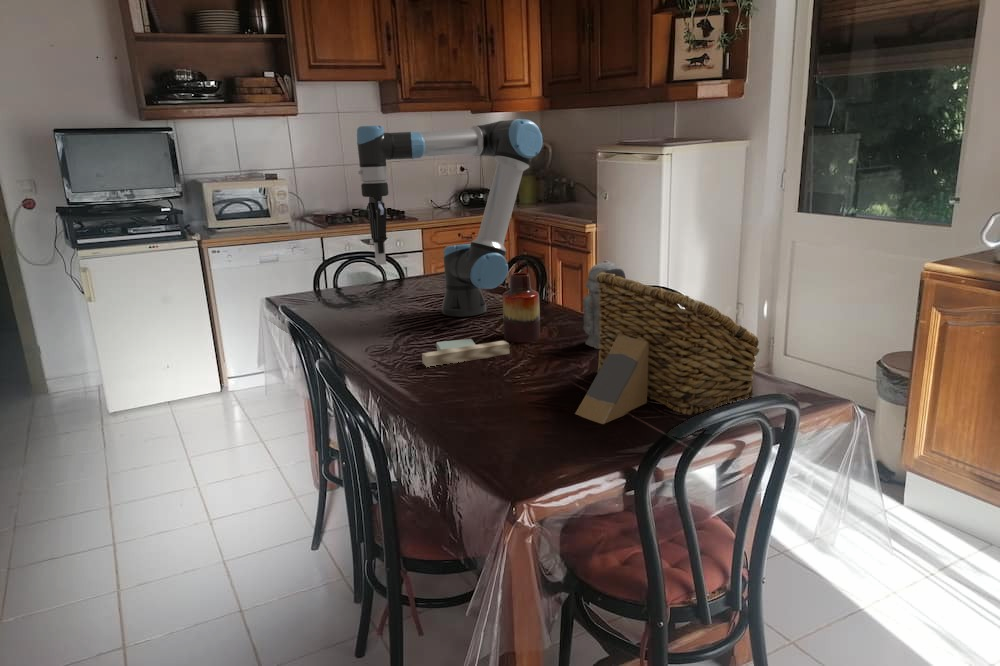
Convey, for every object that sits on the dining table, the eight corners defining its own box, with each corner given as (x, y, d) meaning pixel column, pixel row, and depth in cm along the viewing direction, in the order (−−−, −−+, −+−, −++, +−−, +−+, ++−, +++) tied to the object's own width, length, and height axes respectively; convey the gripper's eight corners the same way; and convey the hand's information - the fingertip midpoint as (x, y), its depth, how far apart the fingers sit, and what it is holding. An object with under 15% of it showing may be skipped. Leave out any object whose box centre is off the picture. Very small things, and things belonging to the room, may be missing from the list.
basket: (776, 398, 160) (784, 280, 153) (686, 421, 149) (690, 295, 142) (671, 358, 191) (673, 259, 184) (590, 375, 180) (589, 270, 173)
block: (471, 352, 205) (471, 338, 204) (477, 359, 198) (476, 345, 197) (437, 355, 203) (436, 342, 202) (441, 363, 195) (441, 349, 194)
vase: (547, 340, 213) (546, 273, 208) (523, 348, 205) (521, 278, 200) (520, 334, 220) (518, 269, 215) (496, 342, 212) (493, 275, 207)
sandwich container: (572, 415, 155) (571, 348, 151) (617, 397, 165) (617, 334, 161) (603, 425, 149) (602, 356, 145) (647, 406, 158) (649, 341, 154)
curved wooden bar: (504, 354, 201) (503, 340, 200) (509, 357, 197) (509, 343, 196) (422, 367, 191) (421, 353, 190) (427, 371, 188) (426, 356, 187)
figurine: (635, 346, 203) (636, 259, 197) (595, 354, 197) (594, 265, 190) (614, 339, 212) (614, 255, 205) (574, 347, 205) (573, 260, 198)
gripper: (355, 182, 208) (363, 262, 214) (366, 183, 196) (374, 268, 202) (381, 180, 210) (387, 259, 217) (393, 182, 199) (399, 265, 205)
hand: (381, 264), depth 209 cm, fingers closed
